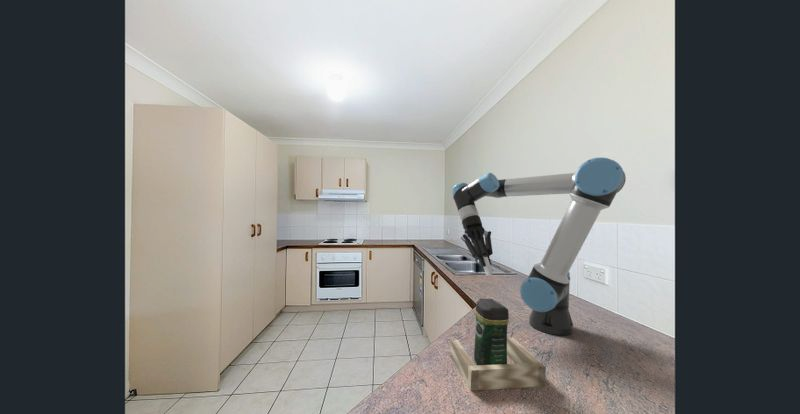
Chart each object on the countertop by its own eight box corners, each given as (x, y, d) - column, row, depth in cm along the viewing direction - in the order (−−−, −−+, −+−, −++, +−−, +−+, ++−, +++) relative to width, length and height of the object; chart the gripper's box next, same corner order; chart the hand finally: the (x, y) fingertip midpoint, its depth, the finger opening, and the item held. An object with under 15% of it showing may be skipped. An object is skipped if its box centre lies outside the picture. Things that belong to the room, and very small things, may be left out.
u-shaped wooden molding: (512, 353, 89) (512, 337, 89) (545, 386, 73) (545, 366, 73) (450, 356, 86) (450, 339, 86) (470, 390, 70) (471, 370, 70)
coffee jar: (511, 375, 77) (514, 307, 77) (484, 377, 76) (486, 308, 76) (494, 356, 87) (496, 295, 87) (470, 357, 86) (472, 296, 86)
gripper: (479, 220, 122) (499, 274, 112) (452, 223, 119) (470, 279, 109) (488, 212, 116) (509, 269, 106) (459, 215, 112) (479, 274, 102)
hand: (489, 274), depth 107 cm, fingers closed
